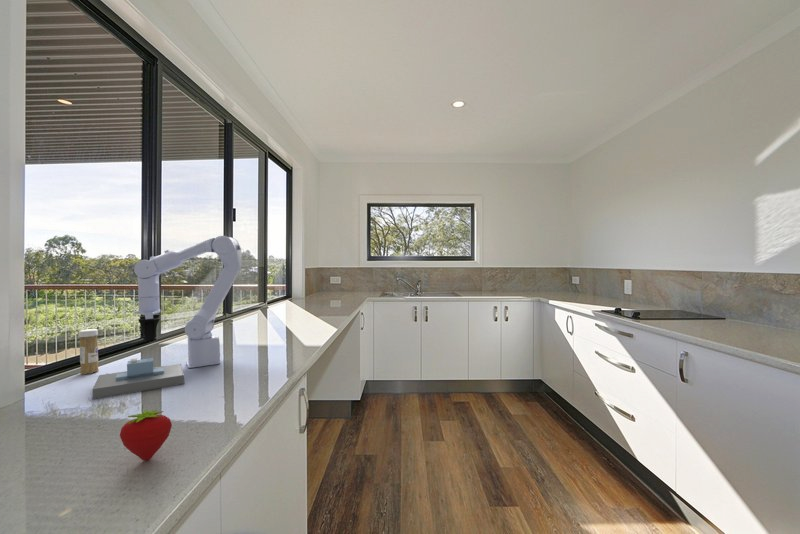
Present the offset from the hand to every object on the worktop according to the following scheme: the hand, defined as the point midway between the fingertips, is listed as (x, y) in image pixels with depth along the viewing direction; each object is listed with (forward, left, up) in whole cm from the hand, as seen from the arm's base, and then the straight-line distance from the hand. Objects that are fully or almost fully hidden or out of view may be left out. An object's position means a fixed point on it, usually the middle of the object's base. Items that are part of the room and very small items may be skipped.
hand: (150, 338), depth 122 cm
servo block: (+2, +19, -9) cm, 21 cm away
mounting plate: (+2, +19, -9) cm, 21 cm away
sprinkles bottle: (+16, -4, -10) cm, 19 cm away
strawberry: (0, +69, -10) cm, 70 cm away
